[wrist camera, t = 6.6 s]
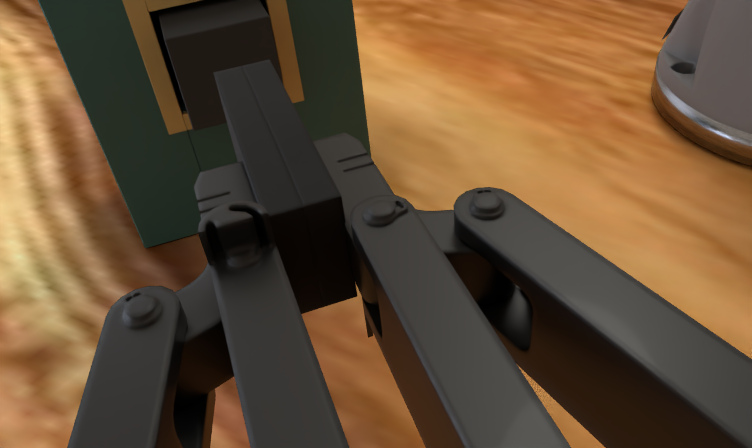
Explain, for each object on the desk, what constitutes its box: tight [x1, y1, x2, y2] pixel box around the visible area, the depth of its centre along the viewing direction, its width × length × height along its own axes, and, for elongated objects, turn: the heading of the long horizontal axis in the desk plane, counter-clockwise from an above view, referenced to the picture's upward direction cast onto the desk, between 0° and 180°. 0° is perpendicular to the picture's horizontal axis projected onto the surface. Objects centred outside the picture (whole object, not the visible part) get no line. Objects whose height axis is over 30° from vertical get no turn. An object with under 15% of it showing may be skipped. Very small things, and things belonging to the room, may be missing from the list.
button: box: [157, 0, 284, 131], centre depth 28 cm, size 5×4×4 cm
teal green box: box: [38, 0, 371, 248], centre depth 32 cm, size 7×12×14 cm, turn 109°
